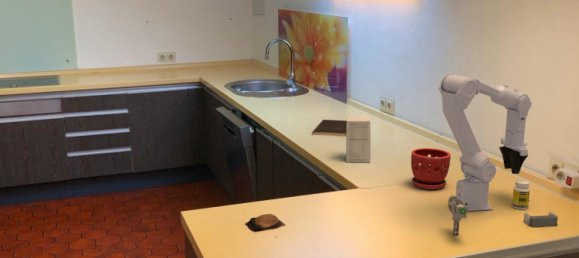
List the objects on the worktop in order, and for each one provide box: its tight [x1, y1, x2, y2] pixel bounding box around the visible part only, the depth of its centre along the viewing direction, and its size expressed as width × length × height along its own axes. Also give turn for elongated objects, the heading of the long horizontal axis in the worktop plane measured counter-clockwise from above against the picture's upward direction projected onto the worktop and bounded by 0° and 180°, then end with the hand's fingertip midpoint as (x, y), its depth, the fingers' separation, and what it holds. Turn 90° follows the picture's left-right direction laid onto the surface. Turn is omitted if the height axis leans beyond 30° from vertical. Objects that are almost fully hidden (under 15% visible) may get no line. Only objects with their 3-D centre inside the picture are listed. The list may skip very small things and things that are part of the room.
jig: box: [523, 211, 559, 228], centre depth 183 cm, size 9×4×2 cm, turn 96°
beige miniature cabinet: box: [345, 115, 372, 164], centre depth 244 cm, size 10×9×17 cm
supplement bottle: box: [511, 179, 531, 210], centre depth 194 cm, size 5×5×8 cm
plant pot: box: [410, 147, 451, 190], centre depth 214 cm, size 13×13×12 cm
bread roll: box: [244, 213, 286, 233], centre depth 184 cm, size 11×8×4 cm
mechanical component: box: [447, 195, 468, 236], centre depth 175 cm, size 3×10×10 cm, turn 2°
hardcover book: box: [311, 119, 347, 137], centre depth 292 cm, size 16×23×2 cm
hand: (511, 171), depth 200 cm, fingers open, 5 cm apart
